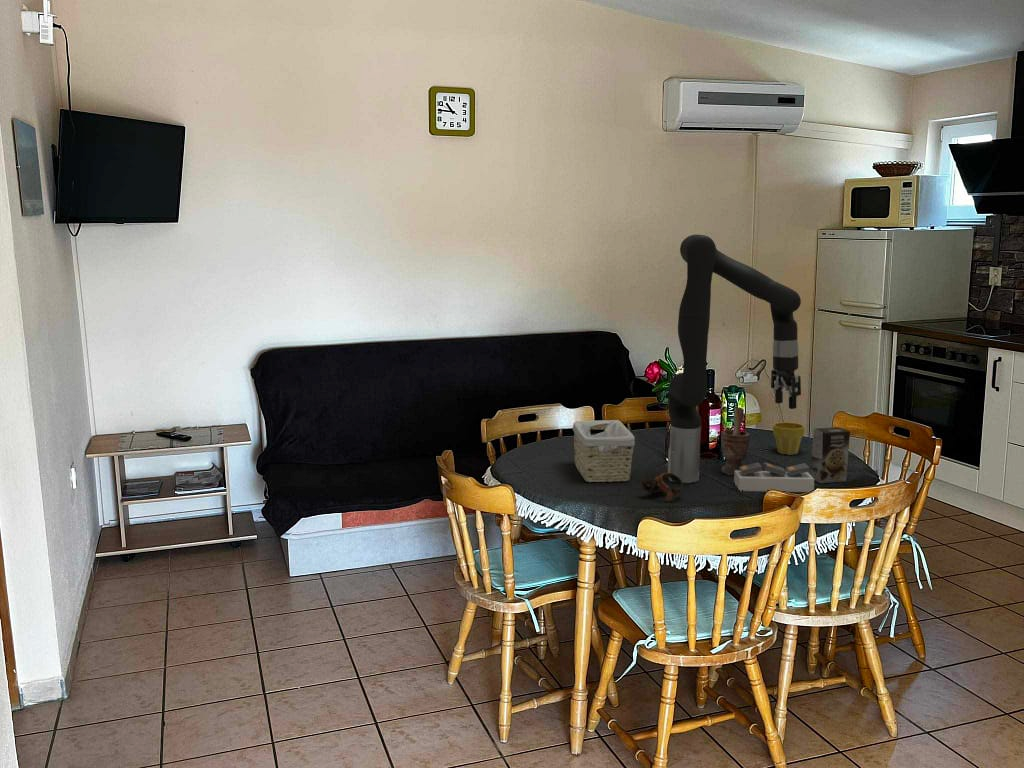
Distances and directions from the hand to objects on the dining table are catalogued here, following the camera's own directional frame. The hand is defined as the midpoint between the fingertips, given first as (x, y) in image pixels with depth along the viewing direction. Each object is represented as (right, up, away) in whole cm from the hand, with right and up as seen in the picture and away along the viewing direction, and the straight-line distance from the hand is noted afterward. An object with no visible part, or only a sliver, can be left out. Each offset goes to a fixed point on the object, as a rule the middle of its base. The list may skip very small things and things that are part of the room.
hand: (785, 405), depth 283 cm
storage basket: (-56, -22, +10) cm, 61 cm away
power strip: (-6, -25, -6) cm, 26 cm away
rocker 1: (-12, -19, -6) cm, 24 cm away
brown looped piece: (-41, -27, -14) cm, 51 cm away
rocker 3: (+1, -19, -7) cm, 20 cm away
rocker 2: (-6, -19, -7) cm, 21 cm away
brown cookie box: (+14, -23, +2) cm, 27 cm away
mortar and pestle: (-14, -21, +12) cm, 28 cm away
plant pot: (+10, -17, +33) cm, 39 cm away
